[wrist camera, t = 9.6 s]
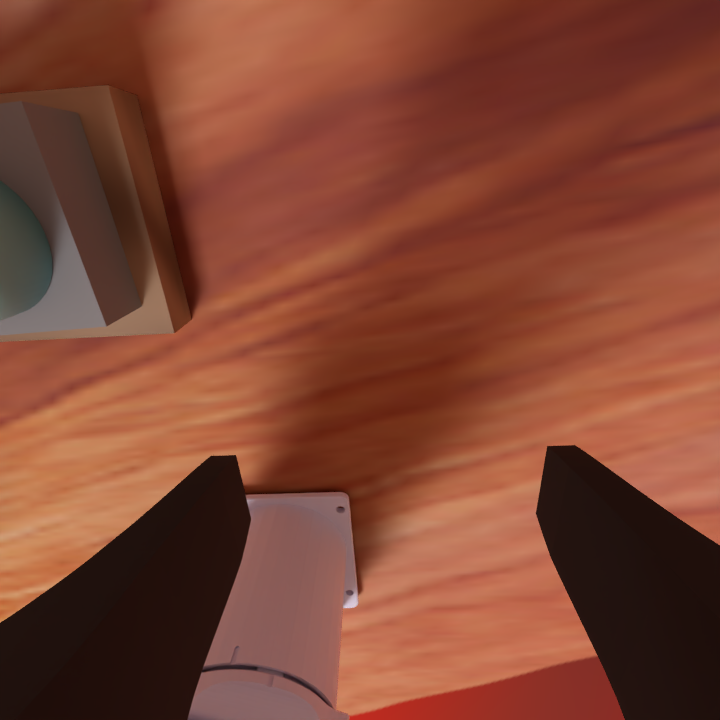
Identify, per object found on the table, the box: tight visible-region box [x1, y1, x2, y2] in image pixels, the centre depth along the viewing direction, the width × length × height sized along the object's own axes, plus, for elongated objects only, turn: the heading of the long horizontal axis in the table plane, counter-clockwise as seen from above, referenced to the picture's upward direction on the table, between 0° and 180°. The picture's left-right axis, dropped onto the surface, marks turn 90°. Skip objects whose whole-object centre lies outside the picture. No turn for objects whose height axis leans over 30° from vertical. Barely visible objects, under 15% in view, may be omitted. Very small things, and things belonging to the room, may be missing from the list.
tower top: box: [0, 101, 142, 335], centre depth 15 cm, size 7×7×2 cm
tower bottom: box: [0, 85, 192, 342], centre depth 17 cm, size 9×9×2 cm
